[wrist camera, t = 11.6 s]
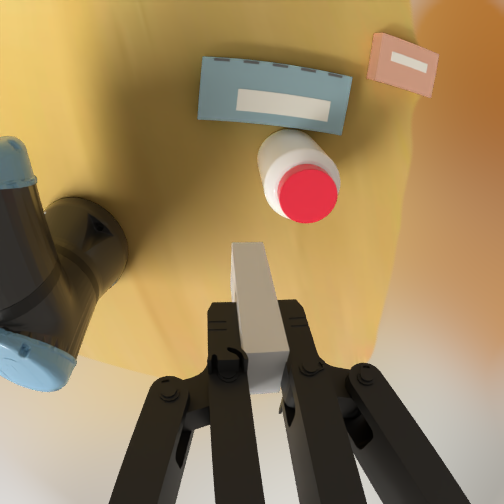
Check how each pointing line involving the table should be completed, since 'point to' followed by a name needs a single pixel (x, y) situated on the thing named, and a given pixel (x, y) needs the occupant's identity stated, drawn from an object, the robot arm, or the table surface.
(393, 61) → the pink labeled box
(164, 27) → the table surface
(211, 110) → the blue labeled box
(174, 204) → the table surface
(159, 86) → the table surface
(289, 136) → the pill bottle
